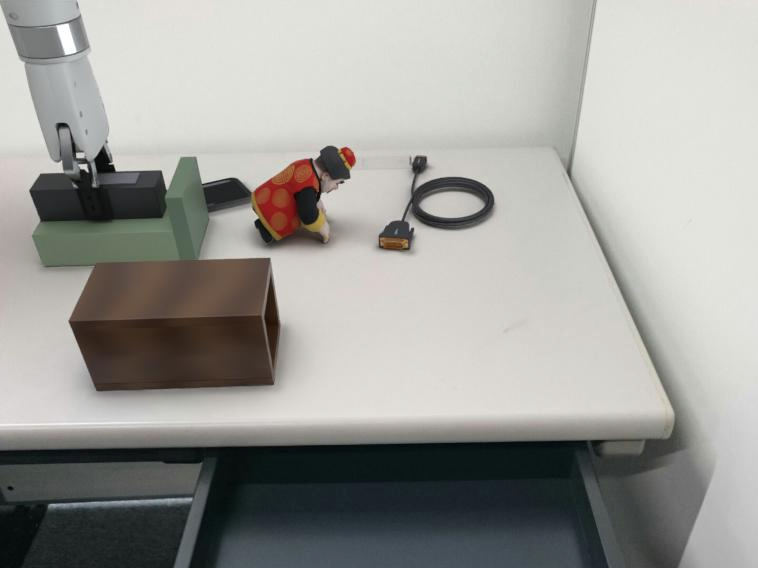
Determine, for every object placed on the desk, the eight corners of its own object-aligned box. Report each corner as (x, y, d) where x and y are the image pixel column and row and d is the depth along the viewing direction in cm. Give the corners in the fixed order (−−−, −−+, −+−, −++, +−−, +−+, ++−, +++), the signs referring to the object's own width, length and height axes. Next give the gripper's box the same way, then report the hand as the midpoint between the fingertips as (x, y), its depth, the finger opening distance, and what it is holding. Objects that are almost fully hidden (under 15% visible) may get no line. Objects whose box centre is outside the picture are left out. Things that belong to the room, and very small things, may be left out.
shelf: (96, 390, 74) (67, 321, 68) (119, 330, 81) (95, 262, 75) (273, 384, 74) (261, 314, 68) (280, 325, 81) (270, 257, 75)
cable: (503, 167, 109) (504, 156, 108) (482, 258, 91) (483, 246, 90) (415, 161, 111) (415, 150, 110) (377, 249, 93) (376, 238, 92)
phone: (134, 198, 101) (235, 176, 106) (136, 206, 102) (237, 183, 107) (150, 221, 97) (255, 196, 102) (152, 229, 98) (256, 204, 102)
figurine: (290, 278, 96) (387, 215, 92) (244, 222, 88) (347, 151, 84) (283, 238, 101) (373, 177, 97) (239, 182, 94) (335, 114, 90)
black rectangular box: (40, 221, 90) (28, 189, 87) (51, 204, 93) (39, 171, 90) (162, 218, 90) (154, 185, 87) (169, 200, 93) (161, 168, 90)
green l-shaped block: (43, 266, 90) (17, 201, 84) (68, 222, 98) (46, 160, 92) (196, 262, 91) (181, 197, 85) (209, 218, 99) (196, 156, 93)
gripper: (38, 17, 83) (91, 180, 97) (-12, 64, 72) (57, 241, 86) (104, 15, 83) (147, 178, 97) (65, 62, 72) (120, 239, 86)
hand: (104, 206), depth 91 cm, fingers open, 5 cm apart
